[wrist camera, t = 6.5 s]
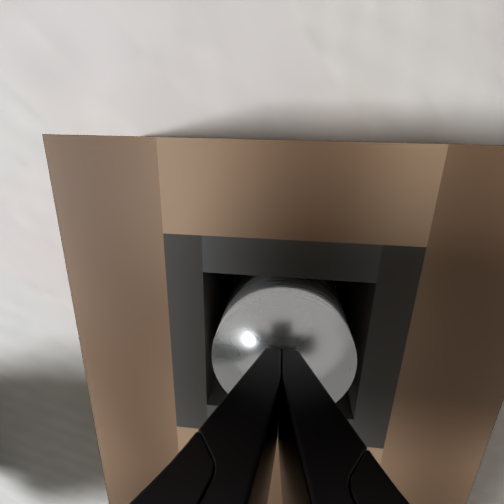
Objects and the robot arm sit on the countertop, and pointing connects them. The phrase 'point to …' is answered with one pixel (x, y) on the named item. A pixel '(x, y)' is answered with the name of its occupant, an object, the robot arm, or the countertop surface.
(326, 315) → the peg short
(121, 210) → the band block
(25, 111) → the countertop surface
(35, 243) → the countertop surface
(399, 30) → the countertop surface
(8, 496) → the countertop surface
